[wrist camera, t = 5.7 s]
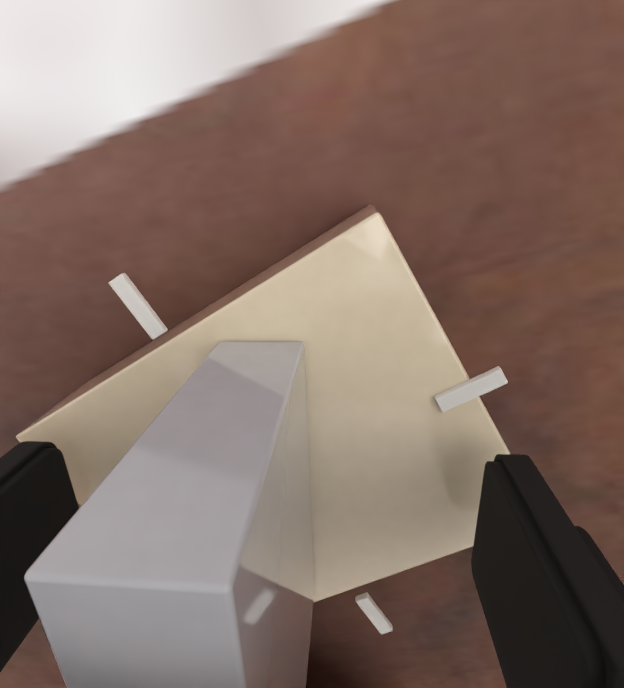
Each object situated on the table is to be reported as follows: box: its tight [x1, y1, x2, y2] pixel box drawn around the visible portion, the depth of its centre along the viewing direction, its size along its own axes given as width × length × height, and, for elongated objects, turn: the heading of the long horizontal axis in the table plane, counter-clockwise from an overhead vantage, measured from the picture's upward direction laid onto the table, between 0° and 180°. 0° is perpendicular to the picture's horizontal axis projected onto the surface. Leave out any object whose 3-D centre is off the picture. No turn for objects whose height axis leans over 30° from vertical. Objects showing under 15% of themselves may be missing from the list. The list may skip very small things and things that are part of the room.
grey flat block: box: [24, 342, 315, 688], centre depth 7 cm, size 7×2×6 cm, turn 2°
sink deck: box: [16, 205, 510, 634], centre depth 11 cm, size 11×11×3 cm
